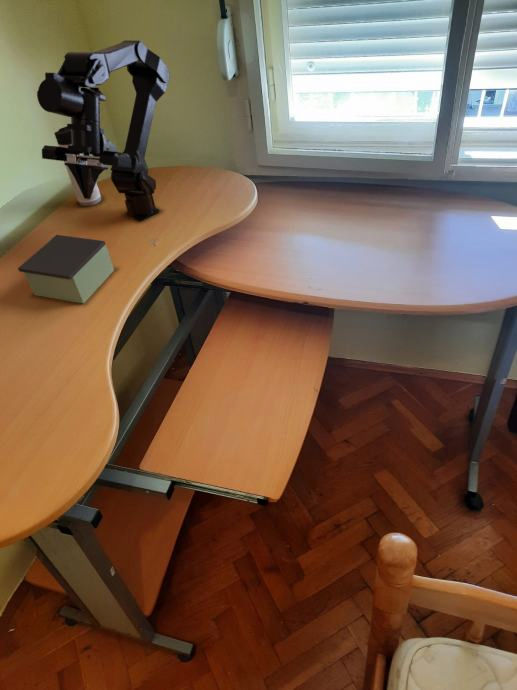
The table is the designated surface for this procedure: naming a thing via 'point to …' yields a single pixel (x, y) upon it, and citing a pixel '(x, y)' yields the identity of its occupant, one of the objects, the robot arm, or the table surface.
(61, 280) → the sage green storage tray
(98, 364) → the table surface
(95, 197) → the travel mug
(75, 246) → the dark flat rectangular panel
